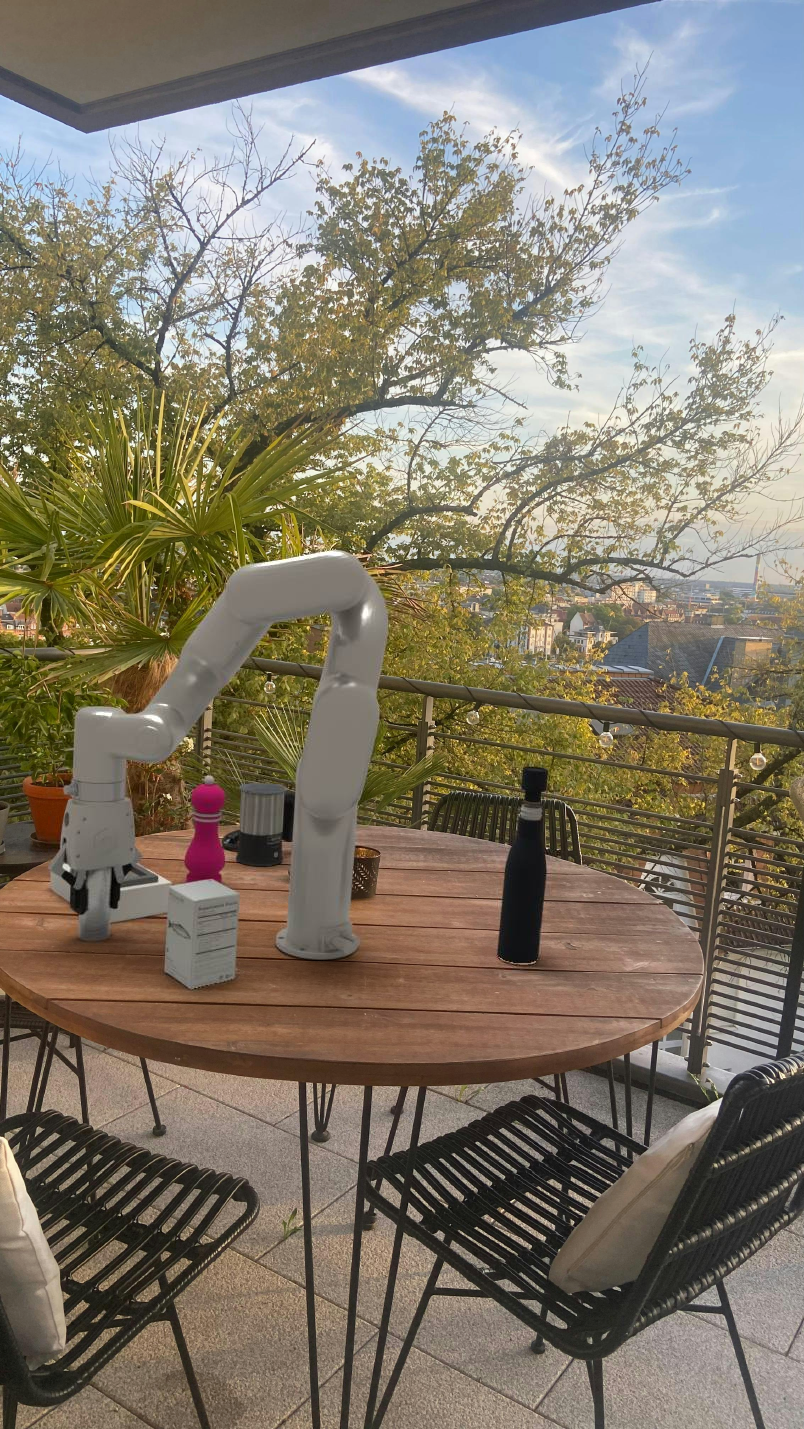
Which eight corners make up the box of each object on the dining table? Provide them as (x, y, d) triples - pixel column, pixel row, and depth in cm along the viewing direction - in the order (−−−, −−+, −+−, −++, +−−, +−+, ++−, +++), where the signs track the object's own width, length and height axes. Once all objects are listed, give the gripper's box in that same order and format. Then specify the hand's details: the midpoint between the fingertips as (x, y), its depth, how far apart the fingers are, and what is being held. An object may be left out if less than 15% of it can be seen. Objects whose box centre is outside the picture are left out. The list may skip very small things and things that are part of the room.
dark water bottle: (489, 951, 153) (507, 764, 149) (525, 949, 156) (543, 764, 152) (508, 967, 147) (526, 772, 144) (545, 964, 150) (564, 773, 146)
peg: (114, 938, 147) (117, 860, 145) (85, 943, 144) (88, 864, 142) (101, 928, 150) (104, 853, 149) (73, 934, 147) (75, 857, 146)
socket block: (170, 912, 160) (173, 840, 158) (101, 924, 152) (103, 849, 150) (116, 879, 175) (118, 813, 173) (50, 888, 167) (52, 820, 165)
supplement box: (162, 972, 136) (166, 884, 134) (209, 962, 141) (213, 877, 139) (189, 991, 130) (193, 900, 129) (236, 979, 135) (241, 892, 134)
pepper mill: (219, 892, 172) (225, 781, 169) (178, 889, 172) (184, 778, 169) (227, 880, 179) (233, 773, 176) (188, 877, 179) (193, 770, 176)
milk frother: (269, 870, 187) (273, 794, 185) (197, 857, 192) (201, 783, 190) (300, 853, 200) (305, 782, 199) (232, 841, 205) (236, 772, 204)
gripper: (53, 801, 136) (49, 926, 138) (163, 791, 147) (158, 907, 149) (32, 790, 141) (29, 911, 144) (140, 781, 152) (135, 893, 155)
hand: (95, 908), depth 146 cm, fingers closed on peg, 4 cm apart
